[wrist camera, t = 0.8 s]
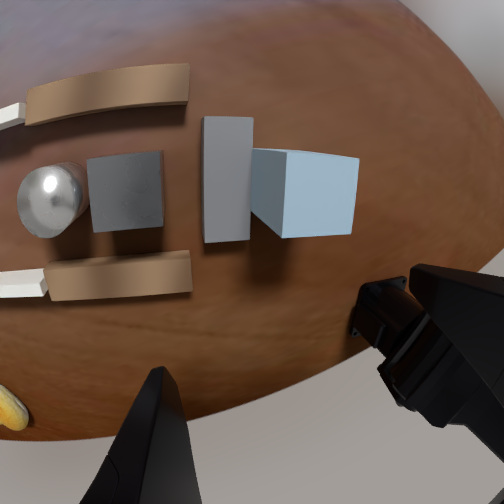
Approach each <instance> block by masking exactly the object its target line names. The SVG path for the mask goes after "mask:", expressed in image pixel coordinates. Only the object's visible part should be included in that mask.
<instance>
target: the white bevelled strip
mask: <svg viewBox="0 0 504 504" xmlns="http://www.w3.org/2000/svg"><path fill="white" fill-rule="evenodd" d="M25 113H26V104H24V103H16V104H13V105H11V106H8V107H5V108H3V109H0V130H3V129H6V128H9V127H12V126H15V125H18V124H21V123H24V122H25ZM43 269H44V268H43ZM43 269H31V270H19V271H7V272H0V298H7V297H35V296H44V295H45V293H46V291H47V290H48V287H47V284H46V281H45V277H44V273H43Z"/></svg>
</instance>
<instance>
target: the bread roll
mask: <svg viewBox="0 0 504 504" xmlns="http://www.w3.org/2000/svg"><path fill="white" fill-rule="evenodd" d="M28 420H29V416H28V411H27V409H26V407H25V406H24V404H23V403H22V402H21V401H20V400H19V399H18V398H17V397H16V396H15V395H14V394H13V393H12V392H10V391H9V390H8V389H7V388H5V387H4V386H2V385H1V384H0V425H1V424H4V425H5V426H6V427H8V428H10V429H12V430H22V429H24V428H25V427H26V426H27V424H28Z"/></svg>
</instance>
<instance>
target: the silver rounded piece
mask: <svg viewBox="0 0 504 504" xmlns="http://www.w3.org/2000/svg"><path fill="white" fill-rule="evenodd" d="M89 204H90V198H89V187H88V173H87V171H86V170H85V169H84V168H83V167H82V166H81V165H79V164H77V163H74V162H63V163H58V164H54V165H50V166H46V167H42V168H38V169H35V170H33V171H32V172H30V173H29V174H28V175H27V176H26V177H25V178H24V180H23V181H22V183H21V185H20V188H19V191H18V196H17V208H18V213H19V216H20V219H21V221H22V223H23V225H24V226H25V227H26V228H27V230H28V231H30V232H31V233H32V234H34V235H35V236H38V237H41V238H52V237H55V236H57V235H59V234H60V233H61V232H63V231H64V230H65V229H66V228H67V227H68V226H69V225H70V224H71V223H72V222H73V221H75V220H76V219H77V218H78V217H79V216H80V215H81V214H82V213H83V212H84V211H85V210H86V209H87V207H88V206H89Z"/></svg>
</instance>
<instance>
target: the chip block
mask: <svg viewBox="0 0 504 504" xmlns="http://www.w3.org/2000/svg"><path fill="white" fill-rule="evenodd" d="M87 173H88V187H89V198H90V207H91V216H92V223H93V231H94V233H95V232H106V231H116V230H127V229H138V228H150V227H163V223H164V214H165V201H164V176H163V150H158V151H145V152H134V153H124V154H115V155H107V156H101V157H96V158H91V159H87Z"/></svg>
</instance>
